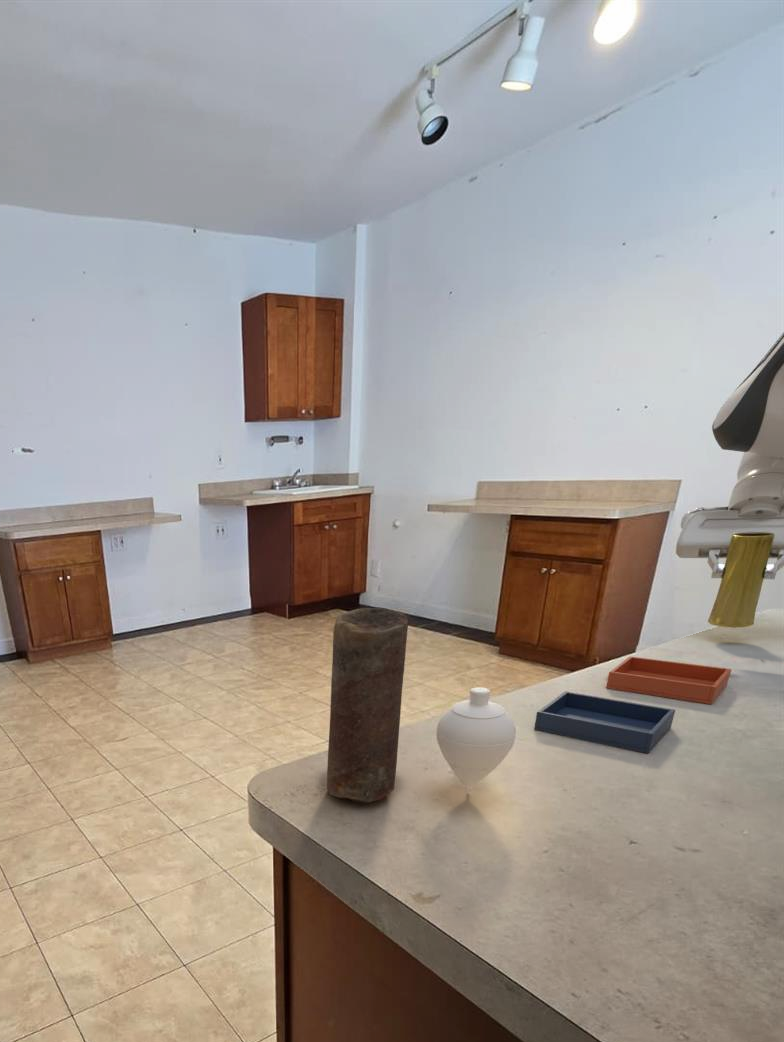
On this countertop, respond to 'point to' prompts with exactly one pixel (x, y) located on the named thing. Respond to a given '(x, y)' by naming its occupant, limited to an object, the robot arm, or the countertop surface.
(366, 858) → the countertop surface
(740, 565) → the vase
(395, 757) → the candle
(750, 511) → the robot arm
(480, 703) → the spinning top
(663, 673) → the terracotta tray
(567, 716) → the blue tray
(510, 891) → the countertop surface
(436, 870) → the countertop surface
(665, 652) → the countertop surface
